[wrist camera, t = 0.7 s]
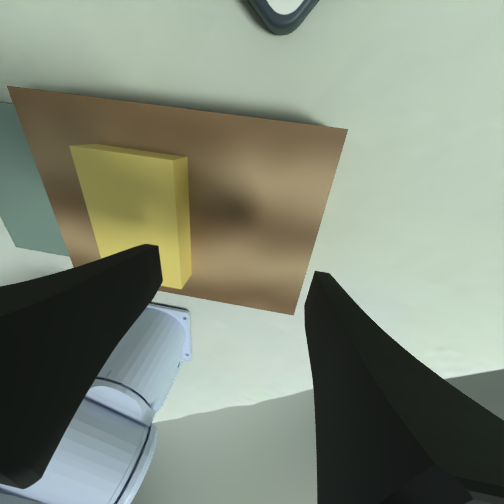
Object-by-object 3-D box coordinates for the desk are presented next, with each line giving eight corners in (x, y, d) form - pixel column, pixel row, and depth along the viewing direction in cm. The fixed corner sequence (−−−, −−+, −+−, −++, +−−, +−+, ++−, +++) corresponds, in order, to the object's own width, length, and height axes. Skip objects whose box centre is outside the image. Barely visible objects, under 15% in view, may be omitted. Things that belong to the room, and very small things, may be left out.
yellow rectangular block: (191, 274, 18) (181, 289, 16) (123, 261, 18) (106, 275, 16) (187, 156, 13) (172, 160, 12) (96, 143, 14) (69, 145, 12)
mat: (110, 261, 24) (108, 263, 23) (18, 245, 24) (15, 246, 24) (70, 111, 17) (67, 111, 16) (-56, 94, 17) (-61, 94, 17)
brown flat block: (292, 286, 22) (293, 315, 18) (107, 254, 23) (76, 275, 20) (333, 129, 15) (348, 129, 11) (66, 95, 16) (6, 85, 13)
